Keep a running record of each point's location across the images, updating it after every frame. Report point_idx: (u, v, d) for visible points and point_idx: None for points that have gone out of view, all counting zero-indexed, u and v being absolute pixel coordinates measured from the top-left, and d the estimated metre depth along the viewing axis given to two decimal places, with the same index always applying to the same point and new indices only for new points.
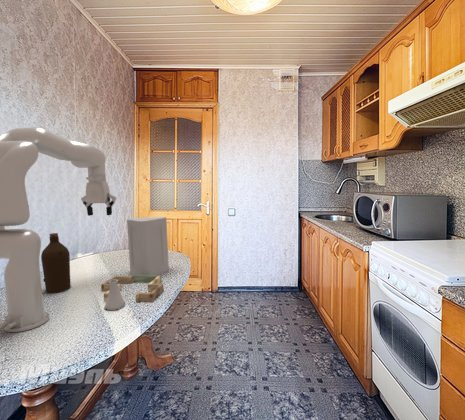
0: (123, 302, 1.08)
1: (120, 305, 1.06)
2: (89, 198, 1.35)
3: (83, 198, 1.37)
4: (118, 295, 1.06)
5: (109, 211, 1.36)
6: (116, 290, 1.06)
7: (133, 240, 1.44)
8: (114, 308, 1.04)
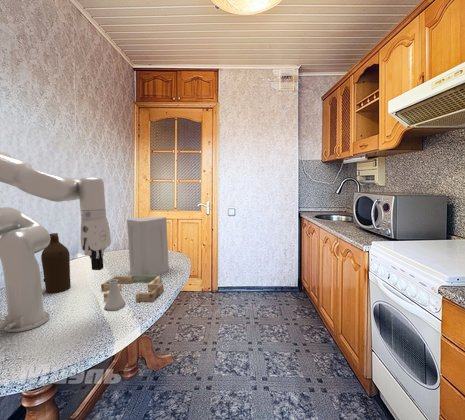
0: (123, 302, 1.08)
1: (120, 305, 1.06)
2: (98, 243, 0.93)
3: (89, 251, 0.92)
4: (118, 295, 1.06)
5: None
6: (116, 290, 1.06)
7: (133, 240, 1.44)
8: (114, 308, 1.04)
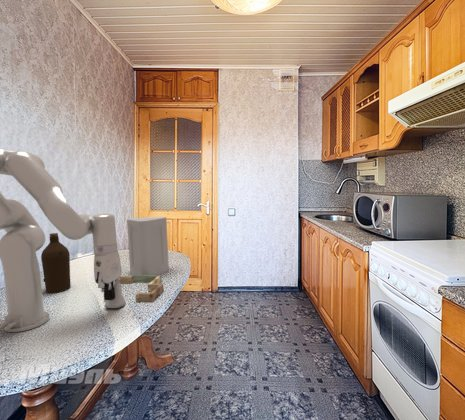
0: (123, 301, 1.08)
1: (120, 303, 1.06)
2: (110, 276, 0.99)
3: (102, 284, 0.98)
4: (119, 293, 1.07)
5: None
6: (117, 288, 1.07)
7: (133, 240, 1.44)
8: (114, 306, 1.04)
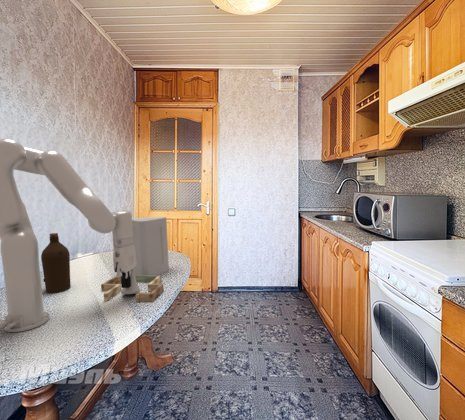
0: (138, 289, 1.19)
1: (135, 290, 1.17)
2: (127, 266, 1.11)
3: (120, 273, 1.10)
4: (134, 281, 1.18)
5: None
6: (132, 277, 1.18)
7: (133, 240, 1.44)
8: (129, 292, 1.15)
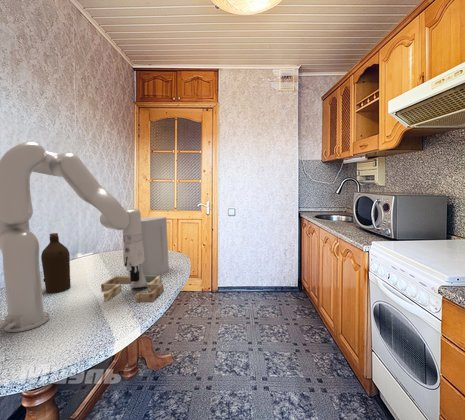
0: (146, 283, 1.26)
1: (143, 284, 1.24)
2: (136, 261, 1.19)
3: (130, 267, 1.18)
4: (142, 276, 1.25)
5: None
6: (141, 271, 1.26)
7: None
8: (138, 285, 1.23)
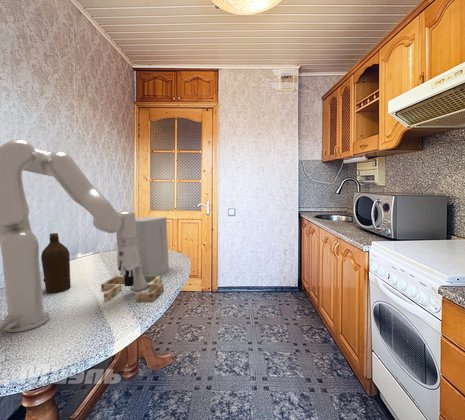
0: (146, 284, 1.26)
1: (143, 286, 1.24)
2: (131, 265, 1.15)
3: (124, 271, 1.13)
4: (141, 278, 1.25)
5: None
6: (140, 274, 1.25)
7: None
8: (138, 289, 1.23)
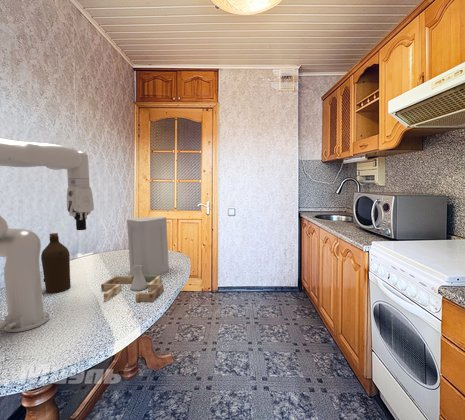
0: (146, 284, 1.26)
1: (143, 286, 1.24)
2: (81, 206, 1.11)
3: (73, 212, 1.10)
4: (141, 278, 1.25)
5: None
6: (140, 274, 1.25)
7: (133, 240, 1.44)
8: (138, 289, 1.23)
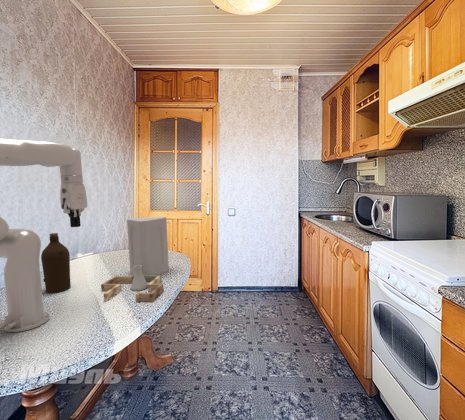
0: (146, 284, 1.26)
1: (143, 286, 1.24)
2: (75, 203, 1.11)
3: (67, 209, 1.09)
4: (142, 278, 1.25)
5: None
6: (140, 274, 1.25)
7: (133, 240, 1.44)
8: (138, 289, 1.23)
